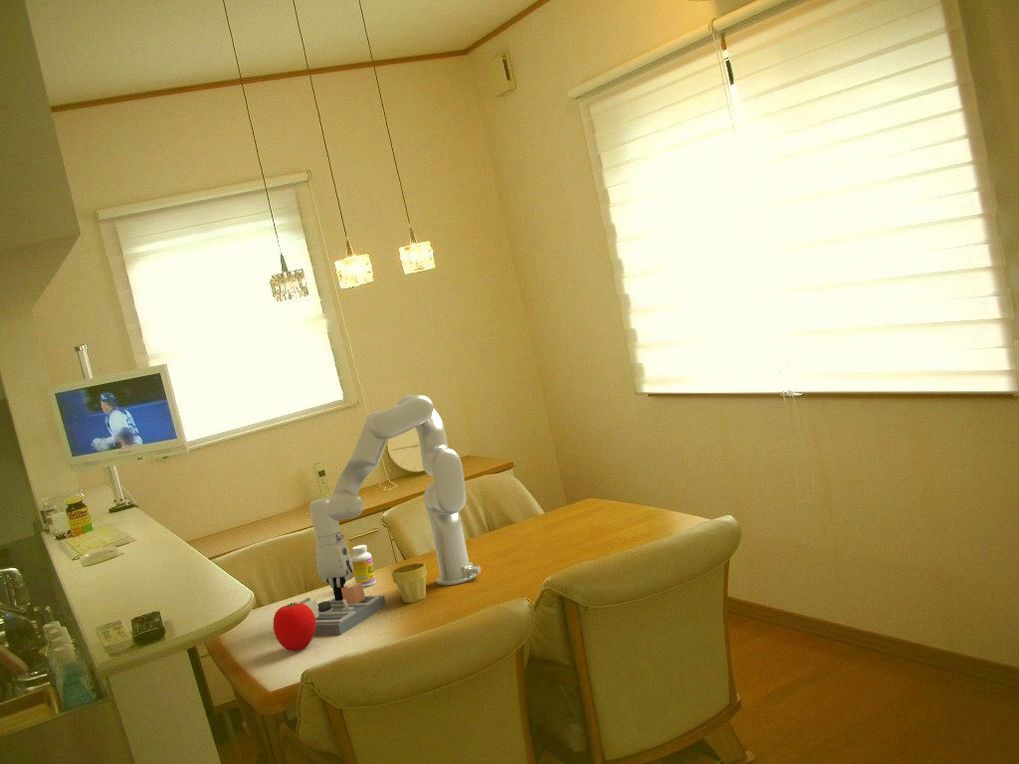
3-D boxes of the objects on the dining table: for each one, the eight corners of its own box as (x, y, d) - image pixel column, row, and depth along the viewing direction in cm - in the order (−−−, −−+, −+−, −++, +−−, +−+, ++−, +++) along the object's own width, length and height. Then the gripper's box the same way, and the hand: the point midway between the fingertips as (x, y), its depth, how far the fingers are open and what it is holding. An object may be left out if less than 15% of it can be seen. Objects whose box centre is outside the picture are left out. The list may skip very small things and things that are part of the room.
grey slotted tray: (386, 605, 303) (382, 584, 303) (340, 634, 281) (336, 611, 281) (336, 608, 311) (332, 587, 310) (288, 636, 289) (284, 614, 289)
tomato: (269, 657, 272) (260, 611, 272) (292, 642, 283) (283, 598, 282) (305, 655, 268) (296, 608, 267) (326, 640, 278) (317, 595, 278)
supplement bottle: (372, 586, 329) (365, 548, 328) (353, 589, 331) (346, 550, 330) (379, 580, 336) (372, 542, 335) (360, 583, 337) (353, 545, 336)
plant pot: (391, 602, 306) (385, 571, 305) (419, 592, 312) (413, 561, 311) (409, 606, 297) (402, 574, 297) (438, 595, 303) (432, 564, 303)
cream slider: (319, 616, 293) (315, 597, 292) (310, 621, 289) (306, 602, 288) (306, 616, 295) (303, 597, 294) (297, 622, 291) (293, 603, 290)
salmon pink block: (365, 599, 302) (361, 580, 302) (356, 604, 298) (353, 585, 298) (352, 599, 304) (349, 581, 304) (344, 604, 300) (340, 586, 300)
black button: (333, 607, 298) (332, 600, 298) (326, 611, 295) (325, 604, 295) (323, 607, 300) (322, 601, 300) (316, 611, 297) (315, 605, 297)
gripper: (356, 534, 302) (368, 594, 304) (316, 537, 309) (327, 596, 310) (342, 541, 296) (354, 602, 297) (301, 544, 302) (313, 604, 303)
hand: (340, 599), depth 303 cm, fingers closed
